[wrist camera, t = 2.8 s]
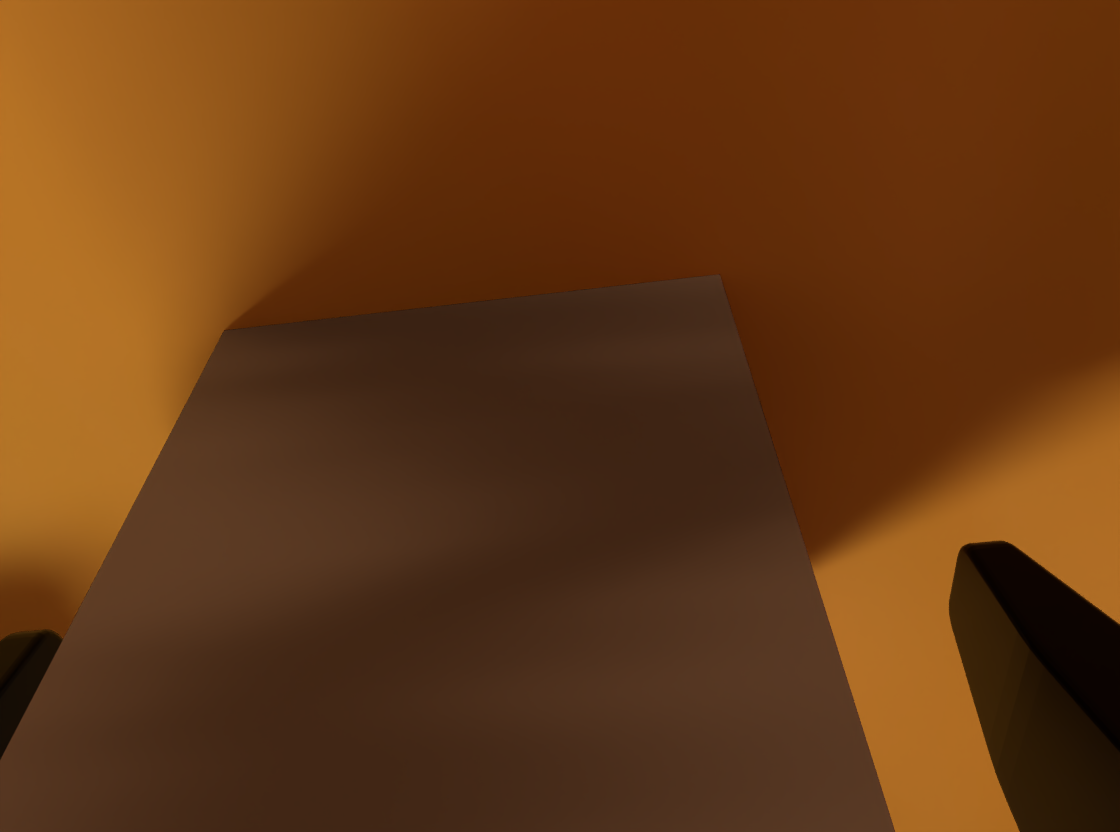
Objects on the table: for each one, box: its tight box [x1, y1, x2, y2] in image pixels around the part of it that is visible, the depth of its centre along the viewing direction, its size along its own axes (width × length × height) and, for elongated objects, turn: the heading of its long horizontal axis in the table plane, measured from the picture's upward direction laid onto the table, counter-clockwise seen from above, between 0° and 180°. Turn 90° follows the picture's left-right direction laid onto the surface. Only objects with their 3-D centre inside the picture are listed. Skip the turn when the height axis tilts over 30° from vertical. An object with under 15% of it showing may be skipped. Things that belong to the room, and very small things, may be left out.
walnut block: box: [0, 274, 895, 832], centre depth 8 cm, size 5×5×7 cm
